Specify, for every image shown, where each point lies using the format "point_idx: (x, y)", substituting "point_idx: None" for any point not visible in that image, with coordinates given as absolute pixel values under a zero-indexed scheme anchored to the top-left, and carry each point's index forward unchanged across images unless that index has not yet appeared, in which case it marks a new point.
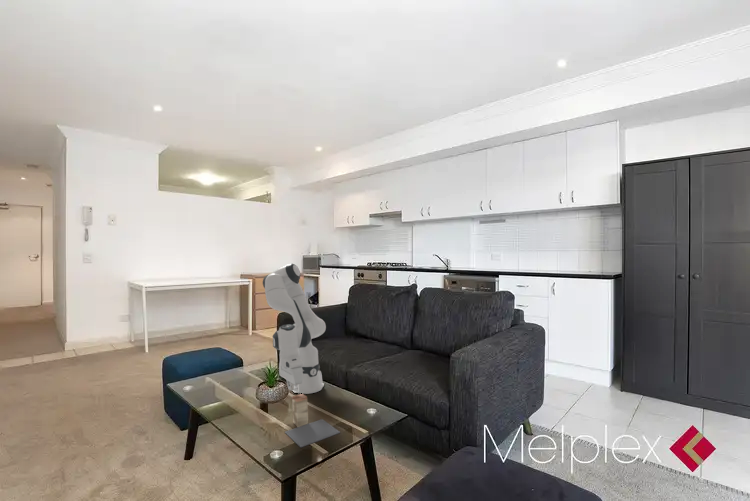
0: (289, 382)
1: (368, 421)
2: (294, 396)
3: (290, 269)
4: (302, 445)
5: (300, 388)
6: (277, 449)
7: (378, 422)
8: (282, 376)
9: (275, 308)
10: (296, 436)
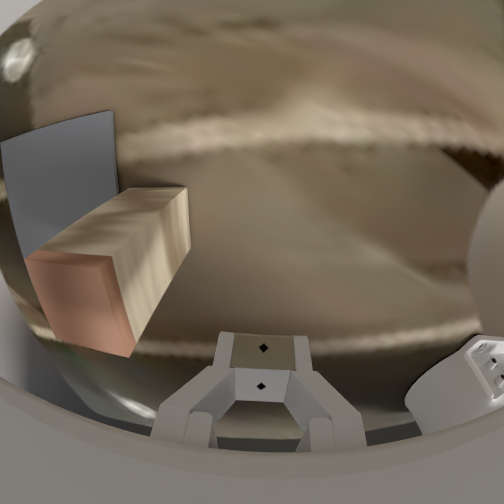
0: (310, 418)
1: (80, 369)
2: (89, 283)
3: None
4: (2, 150)
5: (463, 368)
6: (31, 63)
7: (70, 374)
8: (481, 432)
9: None
10: (49, 148)
